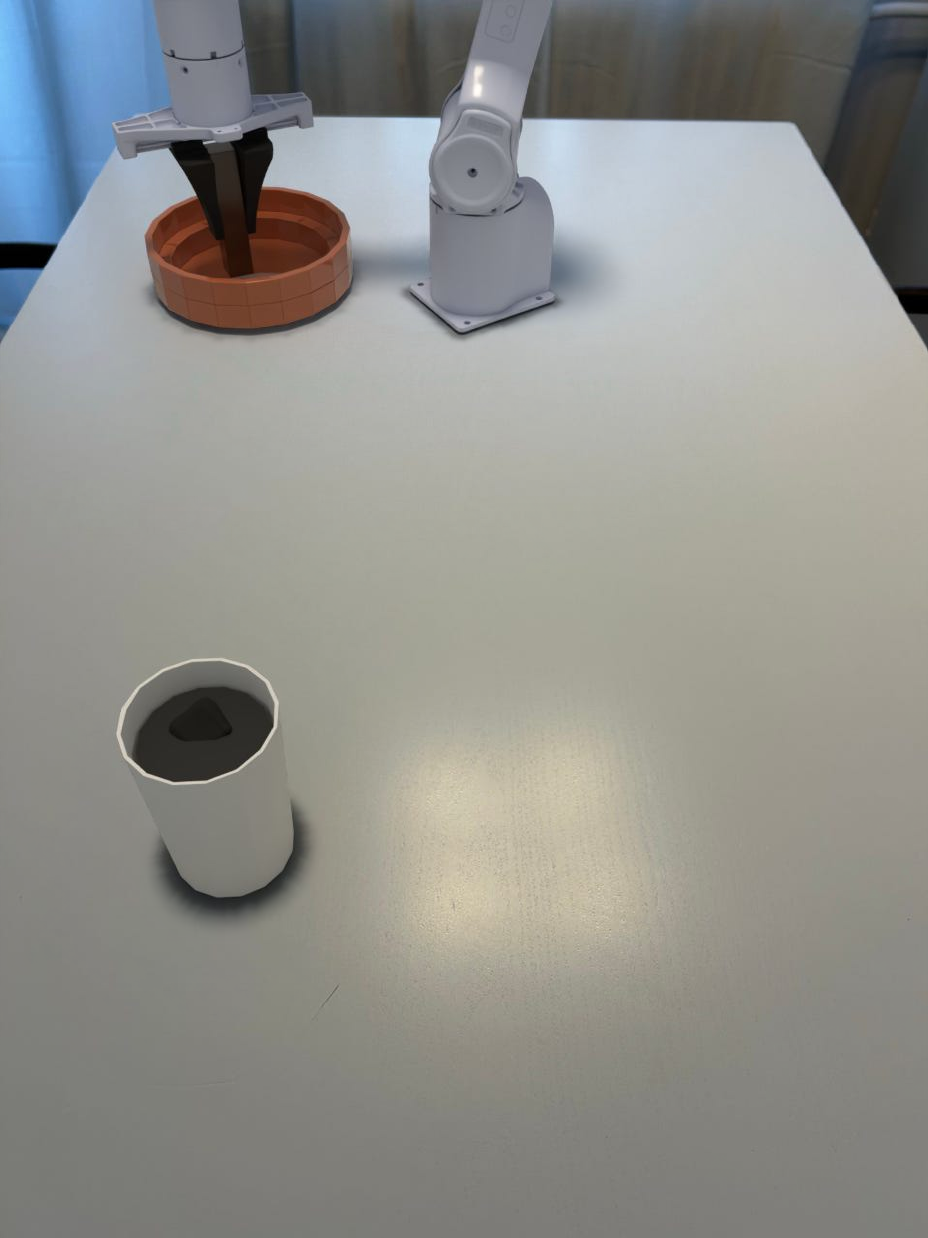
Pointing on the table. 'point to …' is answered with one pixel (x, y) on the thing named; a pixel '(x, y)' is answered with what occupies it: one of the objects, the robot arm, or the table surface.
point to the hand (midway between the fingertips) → (232, 231)
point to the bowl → (281, 255)
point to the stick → (231, 210)
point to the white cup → (212, 772)
